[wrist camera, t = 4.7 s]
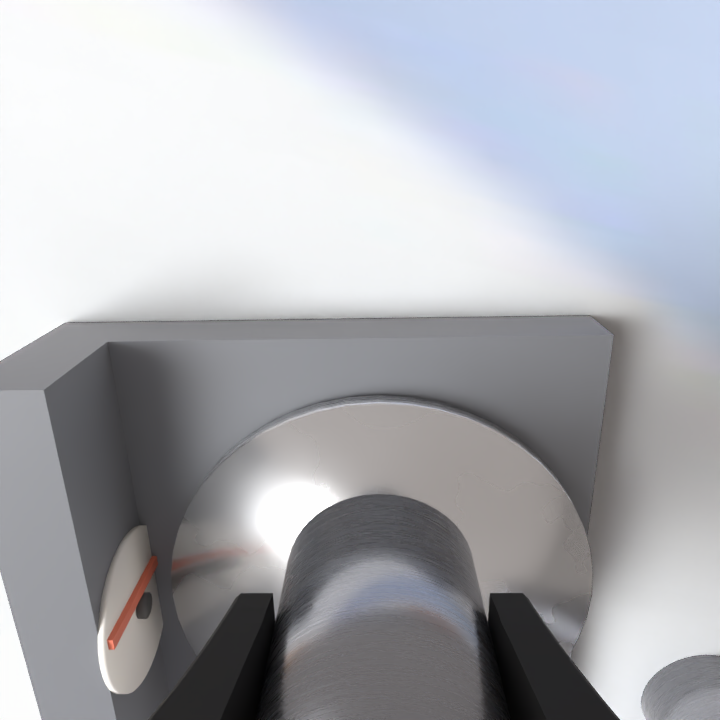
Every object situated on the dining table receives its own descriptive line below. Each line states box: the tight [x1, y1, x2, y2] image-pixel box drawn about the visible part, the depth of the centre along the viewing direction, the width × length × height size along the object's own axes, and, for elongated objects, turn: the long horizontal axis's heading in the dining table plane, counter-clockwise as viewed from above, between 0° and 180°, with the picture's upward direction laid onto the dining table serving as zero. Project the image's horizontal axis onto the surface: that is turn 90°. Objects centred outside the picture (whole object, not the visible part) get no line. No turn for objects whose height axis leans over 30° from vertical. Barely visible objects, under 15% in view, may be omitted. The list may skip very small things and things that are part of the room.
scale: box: [0, 316, 614, 720], centre depth 17 cm, size 15×15×5 cm
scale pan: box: [171, 395, 593, 655], centre depth 17 cm, size 12×12×1 cm
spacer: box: [255, 494, 511, 720], centre depth 10 cm, size 4×4×5 cm
